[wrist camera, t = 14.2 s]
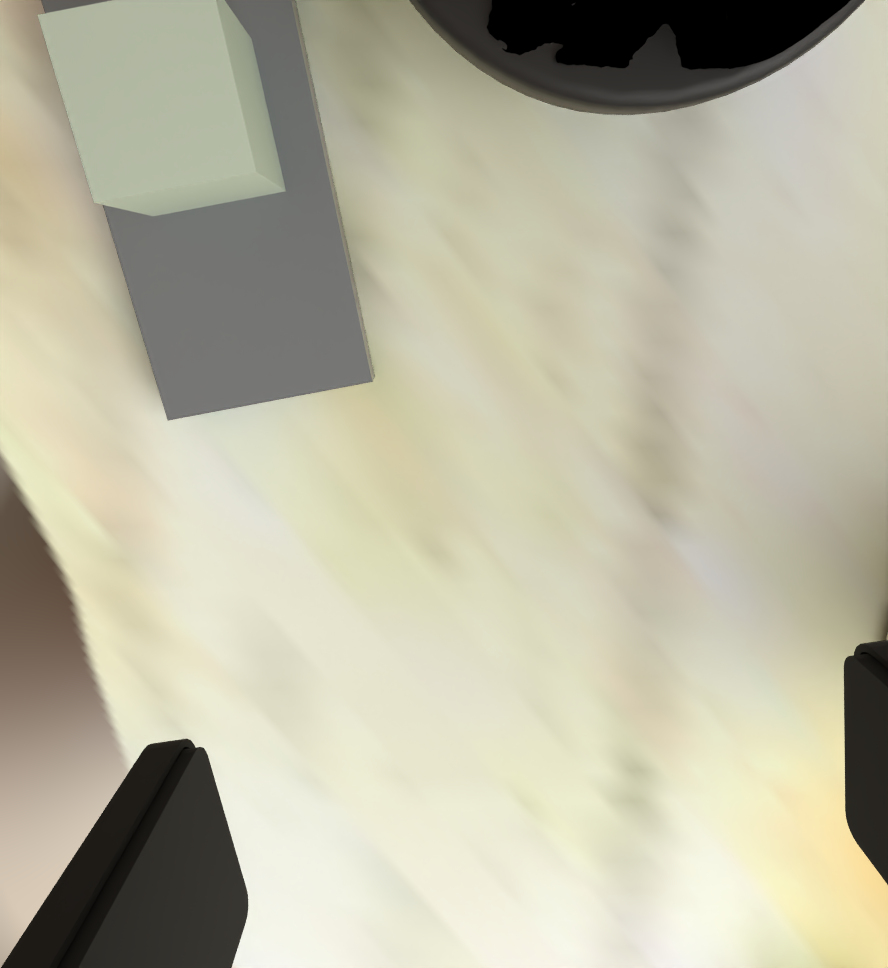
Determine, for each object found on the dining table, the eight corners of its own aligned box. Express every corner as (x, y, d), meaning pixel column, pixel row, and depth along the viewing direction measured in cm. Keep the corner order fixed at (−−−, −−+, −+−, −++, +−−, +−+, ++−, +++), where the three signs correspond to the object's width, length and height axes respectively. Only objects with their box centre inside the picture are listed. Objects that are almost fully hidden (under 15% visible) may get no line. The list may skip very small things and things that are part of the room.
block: (251, 39, 29) (211, -20, 24) (286, 191, 31) (256, 171, 25) (111, 66, 30) (37, 14, 24) (153, 216, 31) (93, 202, 25)
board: (252, -204, 29) (240, -238, 27) (374, 376, 36) (372, 381, 34) (14, -155, 29) (-15, -186, 27) (181, 412, 36) (167, 420, 34)
